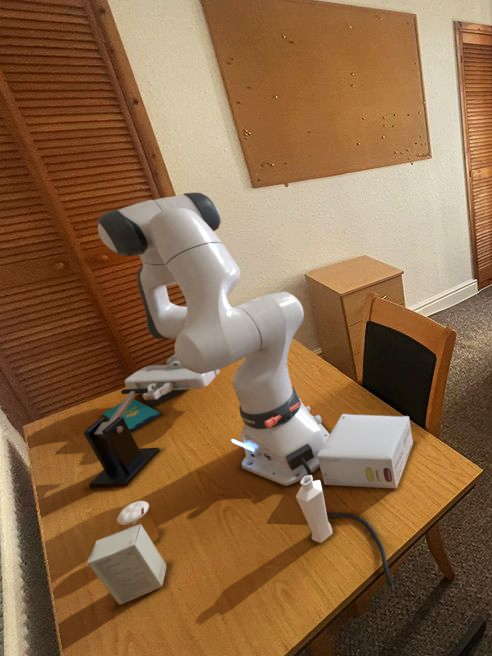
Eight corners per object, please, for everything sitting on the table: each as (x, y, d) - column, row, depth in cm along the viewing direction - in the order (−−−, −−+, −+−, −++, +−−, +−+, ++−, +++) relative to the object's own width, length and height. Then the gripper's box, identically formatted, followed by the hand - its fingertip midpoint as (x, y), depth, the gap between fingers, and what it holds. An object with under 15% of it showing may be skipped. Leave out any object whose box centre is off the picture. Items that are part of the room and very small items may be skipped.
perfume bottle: (327, 517, 84) (312, 465, 78) (338, 530, 81) (323, 477, 75) (305, 534, 81) (288, 481, 75) (316, 548, 78) (299, 494, 72)
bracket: (127, 452, 100) (104, 409, 95) (160, 450, 101) (139, 407, 95) (90, 488, 91) (63, 442, 86) (127, 486, 92) (101, 440, 86)
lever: (127, 392, 100) (121, 386, 98) (150, 391, 100) (144, 385, 98) (93, 439, 91) (85, 434, 89) (118, 438, 91) (111, 433, 89)
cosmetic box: (167, 565, 76) (143, 521, 71) (162, 588, 72) (136, 544, 67) (124, 582, 73) (96, 539, 68) (116, 607, 69) (86, 563, 65)
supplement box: (323, 486, 91) (315, 456, 87) (348, 441, 103) (342, 412, 99) (397, 489, 90) (391, 459, 86) (413, 443, 102) (409, 414, 98)
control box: (185, 390, 122) (180, 380, 120) (152, 406, 116) (147, 395, 114) (171, 379, 127) (166, 369, 125) (139, 394, 121) (134, 383, 119)
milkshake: (149, 554, 77) (129, 519, 74) (127, 549, 78) (106, 514, 75) (172, 531, 82) (154, 497, 78) (151, 526, 83) (132, 492, 79)
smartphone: (132, 397, 118) (160, 412, 112) (133, 399, 118) (161, 414, 112) (100, 413, 112) (129, 430, 106) (102, 415, 112) (130, 432, 106)
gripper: (144, 357, 114) (101, 389, 101) (219, 354, 115) (185, 386, 102) (152, 375, 116) (111, 409, 104) (225, 372, 117) (193, 405, 105)
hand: (149, 397), depth 103 cm, fingers closed
